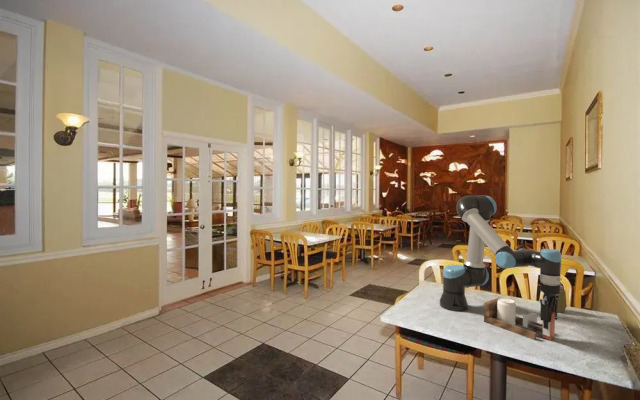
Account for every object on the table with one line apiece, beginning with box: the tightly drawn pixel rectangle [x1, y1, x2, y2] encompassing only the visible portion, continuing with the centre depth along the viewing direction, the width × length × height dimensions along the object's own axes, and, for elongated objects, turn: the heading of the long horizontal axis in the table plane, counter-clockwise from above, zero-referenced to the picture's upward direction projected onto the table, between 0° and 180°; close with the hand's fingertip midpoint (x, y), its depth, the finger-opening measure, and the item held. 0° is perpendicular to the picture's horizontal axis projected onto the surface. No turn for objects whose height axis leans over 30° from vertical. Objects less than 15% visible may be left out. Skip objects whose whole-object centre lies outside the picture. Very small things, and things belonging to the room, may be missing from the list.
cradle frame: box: [483, 297, 543, 341], centre depth 158 cm, size 24×14×10 cm, turn 33°
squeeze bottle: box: [556, 281, 568, 313], centre depth 179 cm, size 8×8×18 cm
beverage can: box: [497, 297, 517, 326], centre depth 162 cm, size 8×8×12 cm
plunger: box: [522, 311, 556, 341], centre depth 149 cm, size 10×10×12 cm
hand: (548, 333), depth 146 cm, fingers closed on plunger, 3 cm apart
